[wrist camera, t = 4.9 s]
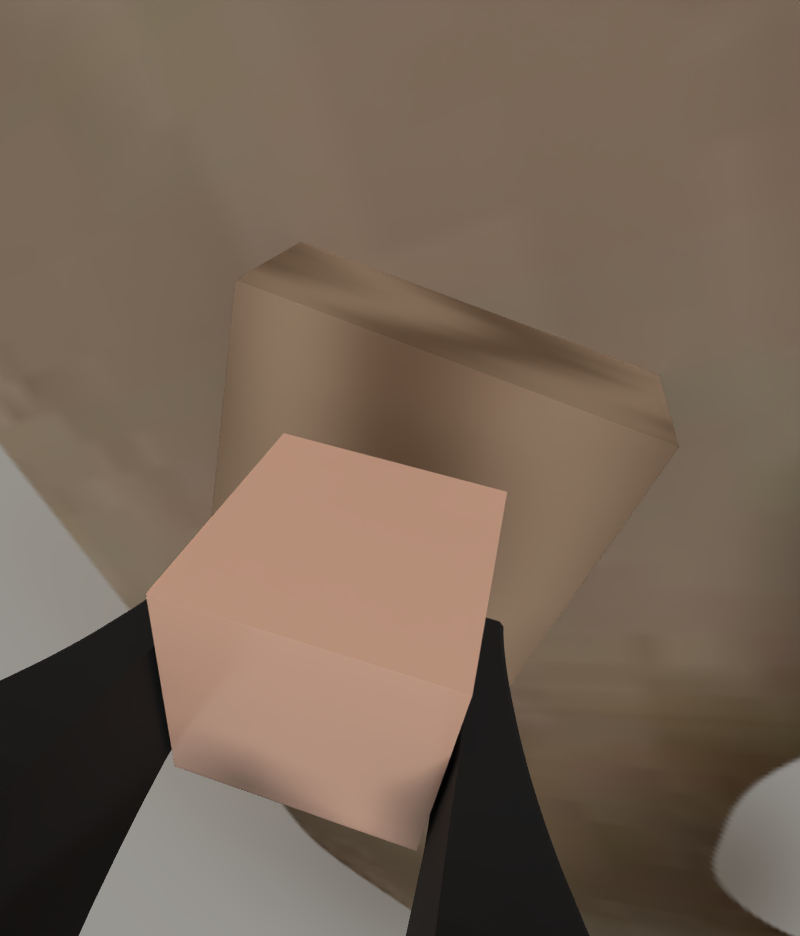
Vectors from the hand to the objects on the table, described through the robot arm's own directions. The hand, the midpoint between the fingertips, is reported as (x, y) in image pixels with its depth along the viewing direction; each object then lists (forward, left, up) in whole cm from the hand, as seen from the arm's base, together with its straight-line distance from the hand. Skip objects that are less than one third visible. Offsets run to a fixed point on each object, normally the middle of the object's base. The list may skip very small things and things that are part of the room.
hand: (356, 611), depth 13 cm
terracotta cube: (0, 0, -2) cm, 2 cm away
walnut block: (0, 0, -7) cm, 7 cm away
